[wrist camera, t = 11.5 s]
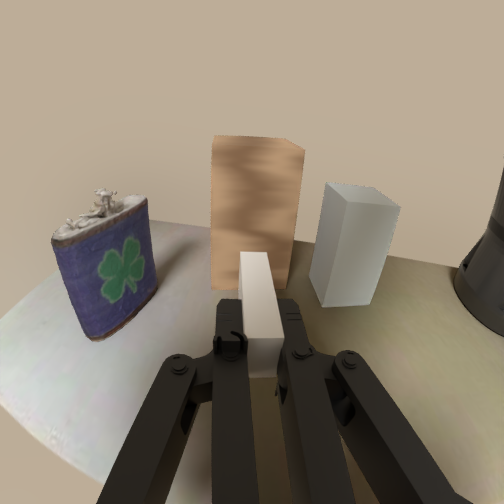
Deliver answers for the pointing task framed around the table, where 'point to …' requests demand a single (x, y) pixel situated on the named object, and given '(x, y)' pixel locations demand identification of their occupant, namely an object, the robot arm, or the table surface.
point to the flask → (107, 263)
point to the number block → (351, 244)
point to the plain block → (253, 205)
